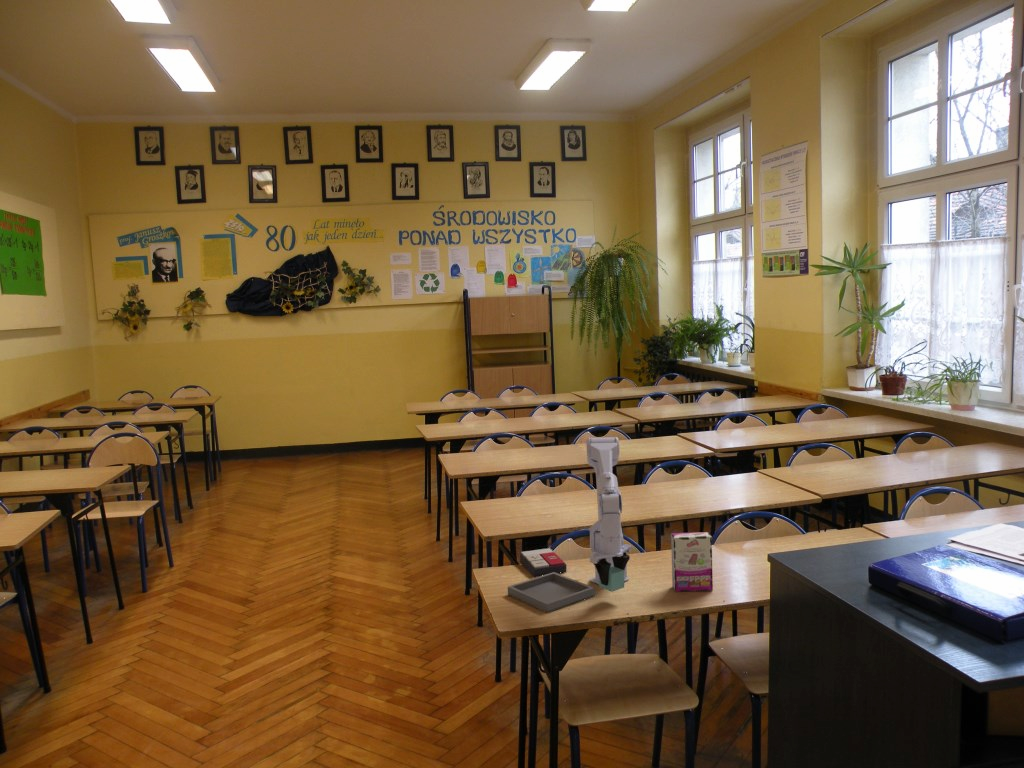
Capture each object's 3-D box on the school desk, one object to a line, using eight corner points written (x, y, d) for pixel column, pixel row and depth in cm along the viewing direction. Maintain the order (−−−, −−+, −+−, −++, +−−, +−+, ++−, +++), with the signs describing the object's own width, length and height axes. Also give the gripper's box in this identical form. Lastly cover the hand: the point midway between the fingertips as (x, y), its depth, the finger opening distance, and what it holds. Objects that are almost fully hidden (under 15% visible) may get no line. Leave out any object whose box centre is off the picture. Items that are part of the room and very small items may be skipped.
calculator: (533, 567, 239) (519, 550, 253) (534, 580, 240) (519, 562, 254) (566, 562, 242) (550, 546, 256) (567, 575, 243) (550, 558, 257)
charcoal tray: (554, 579, 236) (553, 571, 236) (594, 596, 222) (594, 587, 222) (507, 594, 225) (507, 586, 225) (547, 613, 211) (547, 604, 211)
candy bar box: (708, 585, 228) (708, 531, 226) (713, 591, 223) (712, 536, 221) (671, 586, 228) (670, 532, 226) (674, 592, 223) (673, 537, 221)
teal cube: (611, 582, 221) (611, 565, 221) (624, 587, 217) (624, 570, 217) (599, 586, 218) (598, 569, 218) (611, 591, 214) (611, 574, 214)
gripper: (602, 544, 208) (603, 592, 210) (638, 533, 217) (639, 579, 219) (584, 538, 214) (585, 585, 216) (620, 527, 223) (621, 572, 224)
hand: (611, 581), depth 217 cm, fingers closed on teal cube, 5 cm apart
